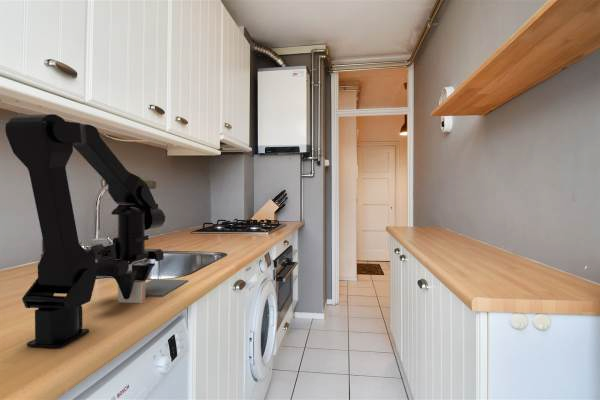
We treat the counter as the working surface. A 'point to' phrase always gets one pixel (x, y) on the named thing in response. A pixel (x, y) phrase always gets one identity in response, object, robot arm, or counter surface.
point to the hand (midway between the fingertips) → (131, 296)
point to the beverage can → (97, 242)
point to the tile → (134, 293)
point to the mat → (162, 286)
